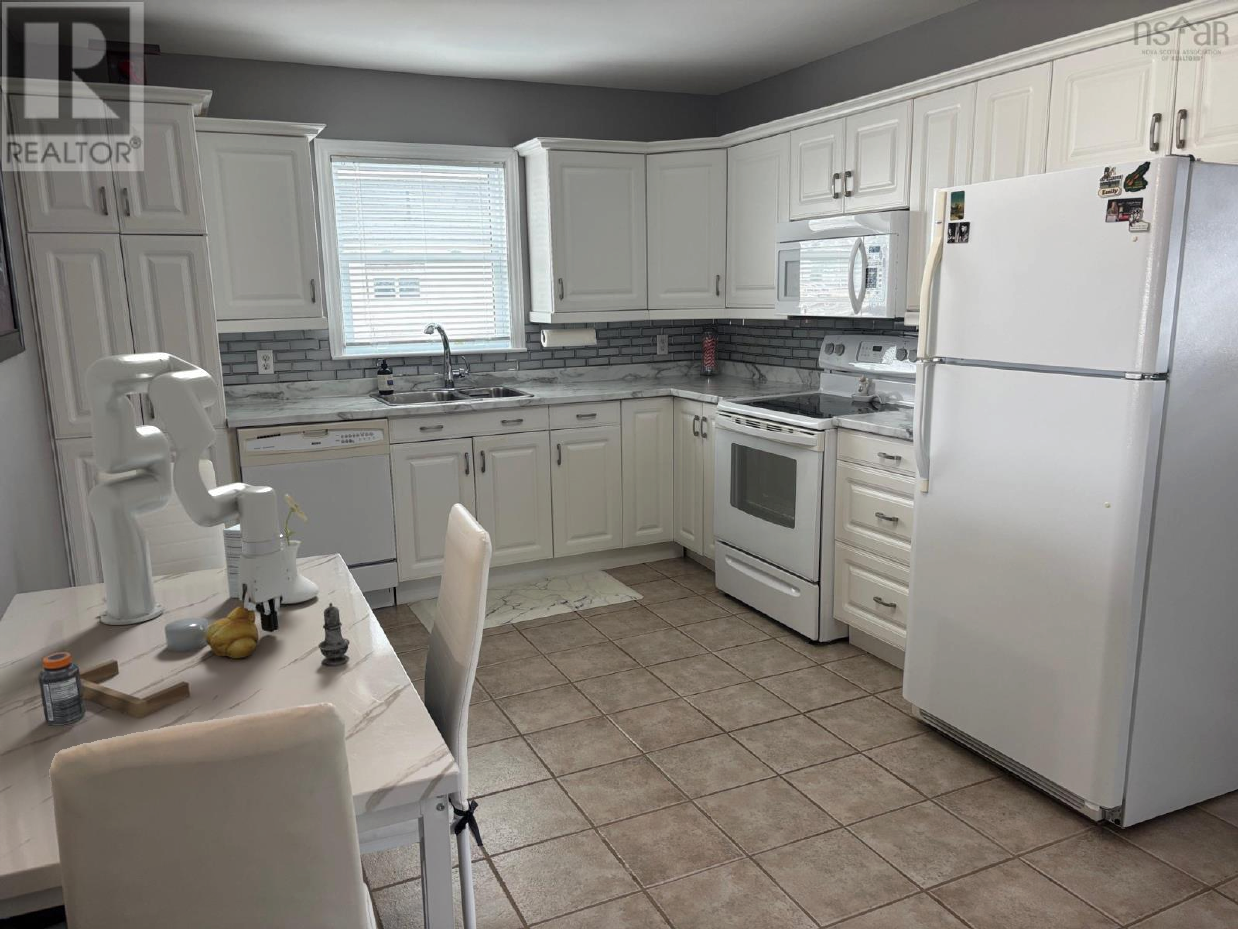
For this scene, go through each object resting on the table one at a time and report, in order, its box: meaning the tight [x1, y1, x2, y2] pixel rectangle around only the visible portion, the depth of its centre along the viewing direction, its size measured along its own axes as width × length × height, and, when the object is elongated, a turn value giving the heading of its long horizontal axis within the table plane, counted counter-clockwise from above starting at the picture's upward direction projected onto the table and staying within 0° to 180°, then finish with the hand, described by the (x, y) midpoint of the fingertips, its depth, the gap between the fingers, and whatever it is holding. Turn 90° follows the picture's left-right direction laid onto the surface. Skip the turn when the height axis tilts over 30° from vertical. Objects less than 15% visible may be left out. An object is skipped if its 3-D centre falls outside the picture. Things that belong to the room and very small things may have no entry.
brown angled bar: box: [79, 659, 191, 719], centre depth 162 cm, size 23×10×2 cm, turn 60°
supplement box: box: [222, 523, 243, 599], centre depth 215 cm, size 10×9×17 cm
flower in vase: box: [281, 493, 320, 605], centre depth 209 cm, size 13×11×25 cm
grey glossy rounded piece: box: [164, 617, 209, 653], centre depth 184 cm, size 8×8×4 cm
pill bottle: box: [38, 651, 86, 726], centre depth 152 cm, size 6×6×11 cm
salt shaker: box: [317, 602, 350, 667], centre depth 174 cm, size 6×6×12 cm
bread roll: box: [206, 604, 259, 659], centre depth 180 cm, size 13×10×8 cm
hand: (270, 629), depth 189 cm, fingers closed
